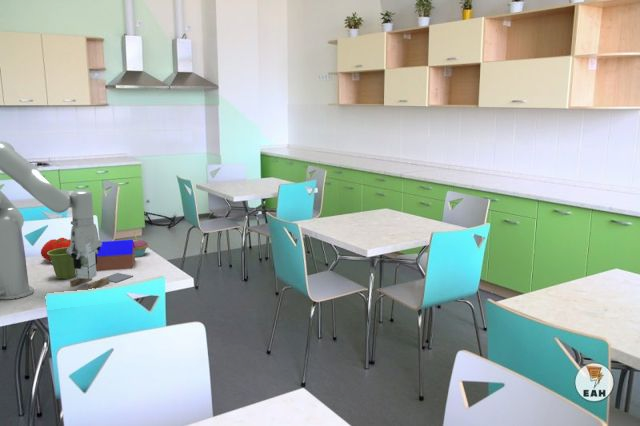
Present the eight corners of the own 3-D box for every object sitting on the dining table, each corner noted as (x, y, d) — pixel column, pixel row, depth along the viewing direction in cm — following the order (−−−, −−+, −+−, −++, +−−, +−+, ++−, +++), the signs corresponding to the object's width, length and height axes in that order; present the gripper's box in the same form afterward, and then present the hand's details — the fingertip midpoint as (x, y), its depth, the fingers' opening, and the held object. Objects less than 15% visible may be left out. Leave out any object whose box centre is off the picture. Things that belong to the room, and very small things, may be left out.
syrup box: (97, 275, 220) (95, 240, 217) (89, 279, 214) (87, 243, 212) (83, 274, 221) (81, 239, 218) (75, 279, 215) (73, 243, 212)
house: (89, 264, 247) (87, 239, 245) (135, 261, 252) (134, 236, 250) (84, 272, 236) (82, 246, 234) (133, 268, 240) (131, 242, 238)
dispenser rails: (89, 290, 212) (88, 284, 211) (70, 286, 217) (70, 280, 216) (109, 283, 220) (108, 277, 220) (90, 279, 225) (89, 273, 225)
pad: (116, 282, 221) (116, 281, 221) (100, 279, 225) (100, 278, 225) (133, 276, 229) (132, 275, 229) (117, 273, 233) (117, 272, 233)
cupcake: (126, 256, 259) (124, 232, 256) (137, 252, 267) (135, 228, 264) (141, 258, 256) (140, 233, 254) (152, 253, 264) (150, 229, 262)
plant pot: (65, 271, 237) (63, 246, 234) (87, 274, 232) (84, 248, 230) (43, 279, 226) (40, 253, 224) (65, 282, 222) (62, 255, 219)
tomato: (71, 264, 246) (69, 243, 244) (35, 265, 247) (33, 243, 245) (85, 256, 260) (83, 235, 258) (51, 256, 261) (49, 236, 259)
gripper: (70, 227, 204) (73, 272, 207) (107, 219, 219) (110, 262, 223) (57, 224, 207) (60, 269, 211) (94, 217, 223) (96, 259, 226)
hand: (85, 265), depth 217 cm, fingers closed on syrup box, 7 cm apart
